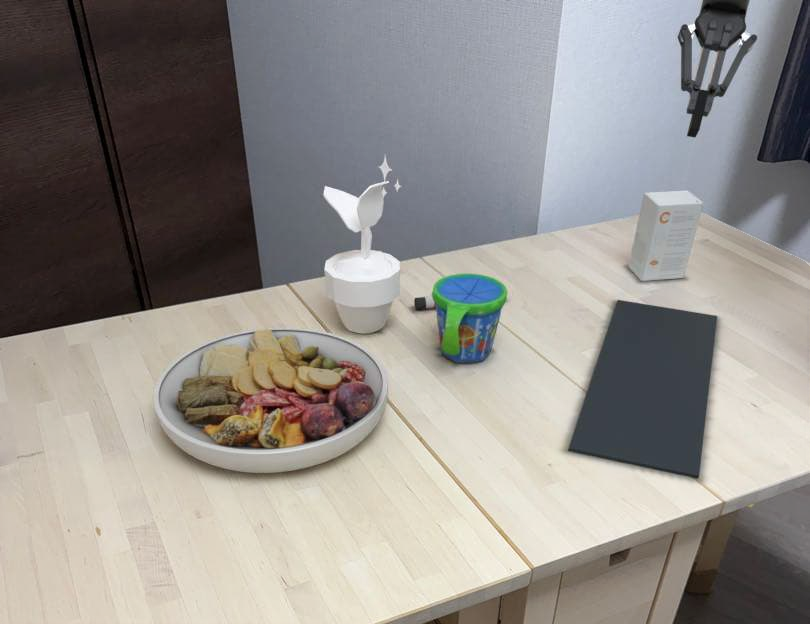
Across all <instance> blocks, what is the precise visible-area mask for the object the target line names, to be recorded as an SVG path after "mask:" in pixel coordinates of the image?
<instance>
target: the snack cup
mask: <svg viewBox="0 0 810 624" xmlns="http://www.w3.org/2000/svg"><path fill="white" fill-rule="evenodd" d="M508 294H509V293H508V289H507V287H506V285H505V284H504V283H503V282H502V281H500V280H499V279H497V278H494V277H491V276H489V275H484V274H479V273H454V274H450V275H447V276H444V277H442V278H441V277H440V278H439V279H438V280H437V281H436V282H435V283H434V284H433V288H432V292H431V296H432V298H433V301H434V302H435V305H436V308H435V312H436V321H437V330H438V339H439V348H440V352H441V354H442V355H444V356H445V357H446V358H447V359H449V360H451V361H453V362H455V363H457V364H460V363H463V364H464V363H466V364H471V363H477V362H482V361H484V360H485V359H486V358H487V357H488V356H489V355H490V354H491V351H492V348H493V344H494V341H495V339H496V334H497V330H498V326H499V323H500V318H501V313H502V309H503V308H504V306H505V304H506V302H507V298H508Z"/></svg>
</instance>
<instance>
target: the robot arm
mask: <svg viewBox="0 0 810 624" xmlns="http://www.w3.org/2000/svg"><path fill="white" fill-rule="evenodd" d="M750 2H751V0H702V1H701V5H700V10H699V14H698V16H696V18H695V19H694V22H693V23H691V24H689V25H688V24H687V23H684V24H682V25H681V26H680V29H679V32H678V35H677V40H678V43H679V45H680V90H681V91H682V92H687V93H688V94H689V97H688V98H689V99H688V103H687V107H686V114H687V115H691V118H690V120H689V121H690V122H689V126H688V129H687V134H686V137H688V138H689V137H690V138H696V137H697V135H698V134H699V132H700V129H701V125H702V121H703V118H704V117H705V118H707V117H708V116H709V115H710V113H711V111H712V107H713V104H714V100H715V98H716V97H718V98H722V97H724V96H725V95H726V93H727V90H728V89H729V86H730V85H731V82H732V81H733V79H734V78H735V75H736V73H737V71H738V69H739V67H740V65H741V63H742V61H743V59H744V58H745V56H746V55H748V54H749V52H751V50H752V49H753V48H754V46H755V44H756V42H757V40H758V35H757V34H750V33H749V32H748V31H747V23H746V18H747V17H746V16H747V13H748V9H749V5H750ZM694 35H695V36H696V37H695V38H696V40H697V42H698V44H699V46H700V48H701V49H700V53H699V57H698V62H697V64H696V65H697V66H696V70H695V74H694V77H693V38H694ZM737 41H739V43H738V52H737V53H736V55H735V57H734V59H733V61H732V62H731V63H732V64H731V65H730V66H729V68H728V71H727V73H726V75H725V76H724V79H723V81H722V82H721V83H719V81H720V78H721V73H722V70H723V65H724V62H725V57H726V53H727V51H728V50H729V49H730V48H731V47H732V46H733V45H735V44H736V43H737ZM711 51H713V52H715V55H714V61H713V65H712V68H711V72H710V77H709V81H708V85H707V89H701V88H702V85H703V81H704V77H705V72H706V68H707V65H708V60H709V57H710V53H711ZM692 78H693V79H692Z"/></svg>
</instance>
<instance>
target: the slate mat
mask: <svg viewBox="0 0 810 624" xmlns="http://www.w3.org/2000/svg"><path fill="white" fill-rule="evenodd" d="M717 320H718V316H717V315H713V314H708V313H703V312H695V311H689V310H683V309H677V308H671V307H665V306H658V305H652V304H647V303H639V302H634V301H629V300H628V301H627V300H622V299H617V301H616V304H615V307H614V310H613V313H612V316H611V318H610V323H609V324H608V329H607V331H606V333H605V337H604V340H603V343H602V347H601V349H600V352H599V356H598V357H597V361H596V364H595V368H594V371H593V375H592V376H591V380H590V382H589V386H588V389H587V392H586V395H585V397H584V401H583V404H582V406H581V410H580V413H579V416H578V419H577V421H576V425H575V428H574V431H573V434H572V437H571V440H570V442H569V446H568V450H567V451H568V452H571V453H576V454H580V455H584V456H585V455H586V456H591V457H595V458H598V459H599V458H600V459H605V460H609V461H613V462H618V463H623V464H628V465H632V466H637V467H642V468H647V469H651V470H656V471H659V472H665V473H669V474H675V475H678V476H684V477H688V478H693V479H696V480H697V479H699V477H700V471H701V463H702V453H703V445H704V437H705V427H706V419H707V409H708V400H709V393H710V384H711V375H712V366H713V357H714V348H715V340H716V339H715V338H716V330H717Z"/></svg>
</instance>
